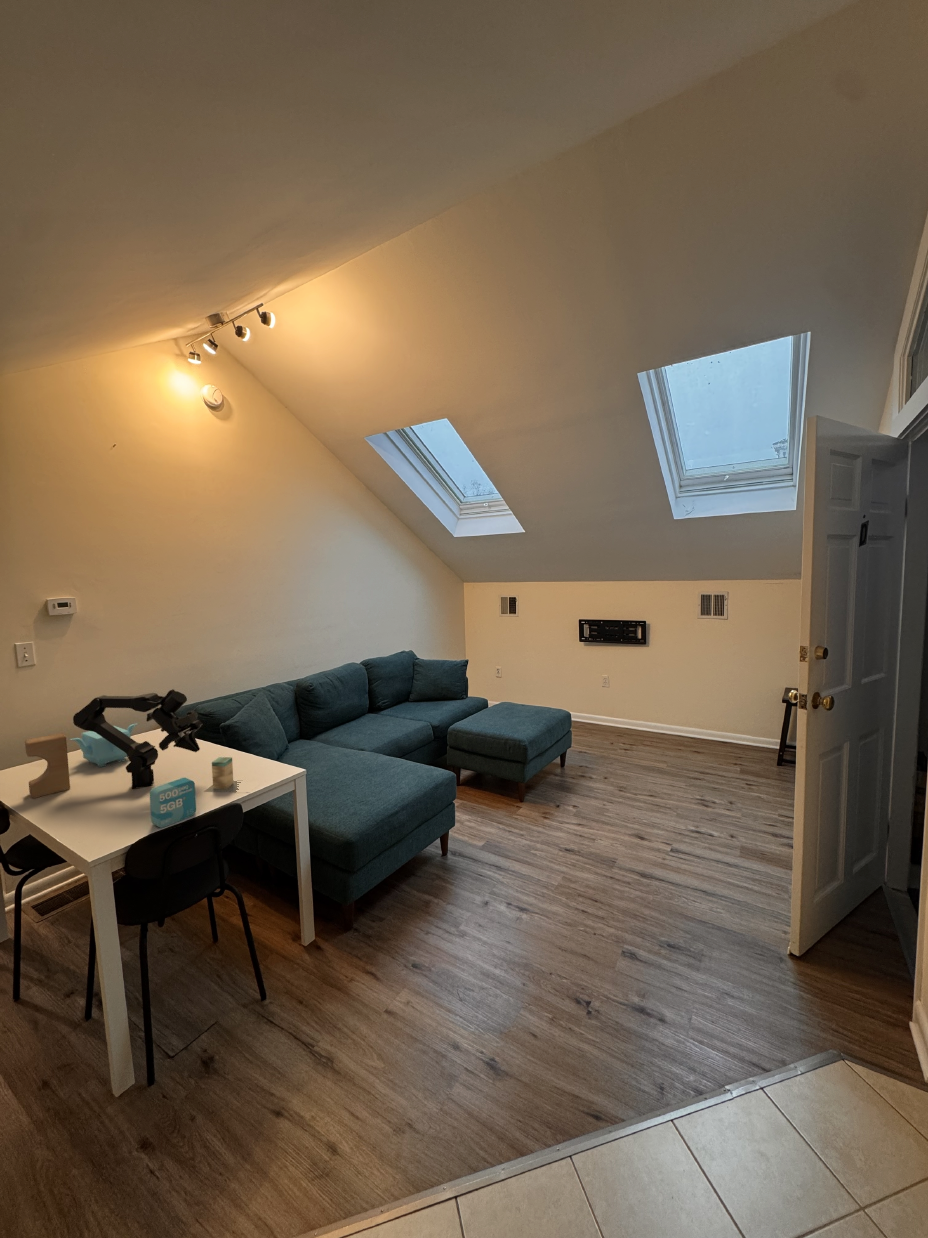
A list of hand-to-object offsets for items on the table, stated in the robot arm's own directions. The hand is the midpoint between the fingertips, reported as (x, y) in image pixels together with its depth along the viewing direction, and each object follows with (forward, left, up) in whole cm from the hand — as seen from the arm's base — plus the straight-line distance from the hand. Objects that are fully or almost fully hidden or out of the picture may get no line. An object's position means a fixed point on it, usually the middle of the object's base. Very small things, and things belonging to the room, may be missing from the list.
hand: (198, 750), depth 188 cm
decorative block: (-46, +25, -14) cm, 54 cm away
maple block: (+7, -5, -13) cm, 16 cm away
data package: (-10, -23, -14) cm, 29 cm away
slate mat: (+10, -8, -14) cm, 19 cm away
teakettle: (-30, +50, -14) cm, 59 cm away
